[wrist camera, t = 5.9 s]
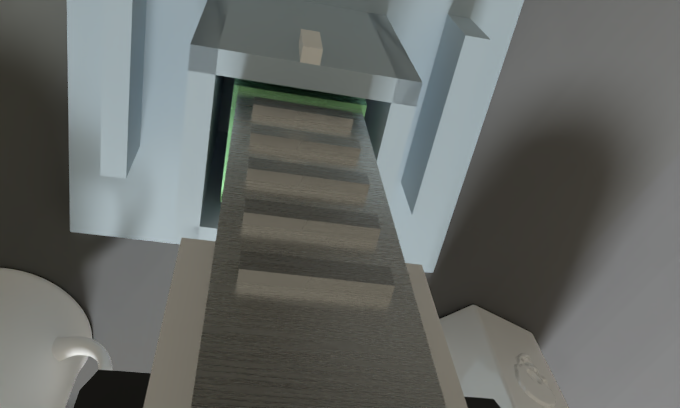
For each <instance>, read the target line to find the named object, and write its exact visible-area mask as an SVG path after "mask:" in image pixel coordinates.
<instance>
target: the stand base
mask: <svg viewBox="0 0 680 408" xmlns="http://www.w3.org/2000/svg"><path fill="white" fill-rule="evenodd" d="M523 2H524V0H67V52H68V123H69V194H70V232H76V233H85V234H94V235H103V236H112V237H121V238H129V239H138V240H147V241H156V242H165V243H173V244H180V242H181V238H191V239H199V240H208V241H216V236H217V229H218V222H219V215H220V209H221V202H220V195H221V187H222V179H223V171H224V162H225V154H226V146H227V138H228V129H229V121H230V113H231V104H232V96H233V88H234V81H235V78H238V79H244V80H251V81H257V82H263V83H269V84H276V85H282V86H288V87H295V88H301V89H307V90H314V91H320V92H326V93H333V94H339V95H345V96H351V97H358V98H364V99H365V101H366V104H367V108H366V112H365V117H364V120H365V123H366V127H367V130H368V134H369V137H370V141H371V144H372V148H373V151H374V155H375V158H376V162H377V165H378V169H379V172H380V176H381V179H382V183H383V186H384V190H385V193H386V197H387V200H388V204H389V207H390V211H391V215H392V218H393V222H394V225H395V229H396V232H397V236H398V239H399V243H400V246H401V250H402V253H403V257H404V260H405V263H410V264H419V265H422V267H423V270H424V272H429V273H433V272H434V269H435V266H436V263H437V260H438V257H439V254H440V251H441V248H442V245H443V242H444V239H445V236H446V233H447V230H448V227H449V224H450V221H451V218H452V215H453V212H454V209H455V206H456V203H457V200H458V197H459V194H460V191H461V188H462V185H463V182H464V179H465V176H466V173H467V170H468V167H469V164H470V161H471V158H472V155H473V152H474V149H475V146H476V143H477V140H478V137H479V134H480V131H481V128H482V125H483V122H484V119H485V116H486V113H487V110H488V107H489V104H490V101H491V98H492V95H493V92H494V89H495V86H496V83H497V80H498V77H499V74H500V71H501V68H502V65H503V62H504V59H505V56H506V53H507V50H508V47H509V44H510V41H511V38H512V35H513V32H514V29H515V26H516V23H517V20H518V17H519V14H520V11H521V8H522V5H523Z"/></svg>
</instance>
